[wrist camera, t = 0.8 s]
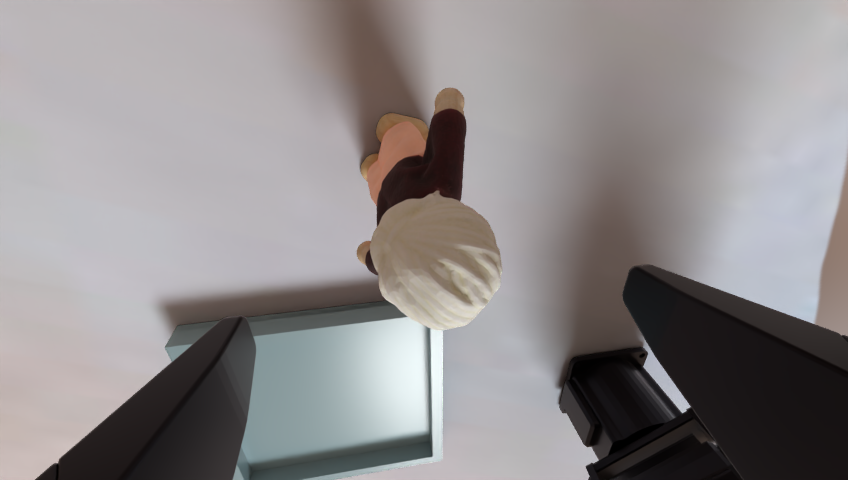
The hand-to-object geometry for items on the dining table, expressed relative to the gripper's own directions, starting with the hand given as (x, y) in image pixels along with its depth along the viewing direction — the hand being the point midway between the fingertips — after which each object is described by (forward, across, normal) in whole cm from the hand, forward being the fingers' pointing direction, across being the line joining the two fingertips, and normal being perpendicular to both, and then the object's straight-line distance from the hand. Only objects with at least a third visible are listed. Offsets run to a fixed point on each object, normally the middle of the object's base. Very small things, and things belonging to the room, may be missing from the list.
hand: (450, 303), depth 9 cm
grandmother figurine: (+13, 0, 0) cm, 13 cm away
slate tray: (+13, +6, +18) cm, 23 cm away
